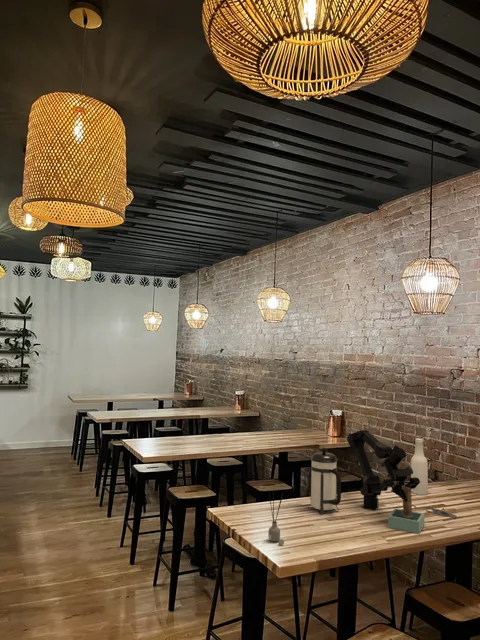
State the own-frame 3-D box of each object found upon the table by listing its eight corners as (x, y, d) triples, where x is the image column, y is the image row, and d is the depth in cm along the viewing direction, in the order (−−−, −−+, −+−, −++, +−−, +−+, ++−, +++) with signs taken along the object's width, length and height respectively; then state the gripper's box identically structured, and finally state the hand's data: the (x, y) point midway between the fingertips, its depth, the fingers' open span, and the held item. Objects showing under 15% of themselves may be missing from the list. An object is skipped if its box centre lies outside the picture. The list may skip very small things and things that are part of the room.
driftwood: (459, 518, 230) (459, 514, 230) (450, 521, 226) (450, 516, 226) (422, 507, 247) (422, 502, 247) (413, 509, 243) (413, 505, 243)
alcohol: (425, 496, 263) (425, 440, 265) (409, 493, 268) (409, 439, 270) (429, 492, 271) (429, 438, 273) (413, 490, 275) (413, 437, 278)
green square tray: (388, 527, 213) (388, 516, 213) (394, 519, 224) (394, 508, 224) (419, 533, 206) (419, 521, 207) (424, 525, 217) (424, 513, 218)
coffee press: (304, 513, 230) (305, 449, 232) (312, 503, 245) (312, 444, 247) (340, 518, 224) (341, 452, 226) (346, 508, 238) (346, 447, 241)
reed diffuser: (262, 538, 196) (263, 488, 198) (274, 535, 201) (275, 486, 202) (279, 547, 188) (280, 494, 190) (291, 543, 193) (292, 492, 194)
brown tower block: (399, 516, 216) (398, 486, 218) (408, 515, 218) (407, 485, 219) (406, 519, 212) (405, 489, 213) (416, 518, 213) (415, 488, 215)
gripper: (383, 461, 218) (399, 493, 207) (417, 459, 224) (434, 490, 213) (373, 474, 225) (387, 506, 214) (406, 472, 231) (422, 503, 220)
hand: (408, 501), depth 215 cm, fingers closed on brown tower block
